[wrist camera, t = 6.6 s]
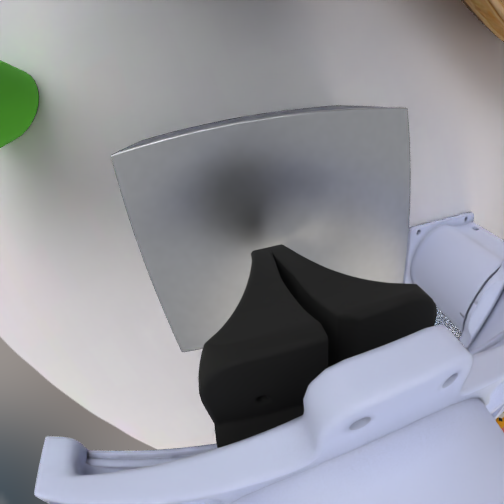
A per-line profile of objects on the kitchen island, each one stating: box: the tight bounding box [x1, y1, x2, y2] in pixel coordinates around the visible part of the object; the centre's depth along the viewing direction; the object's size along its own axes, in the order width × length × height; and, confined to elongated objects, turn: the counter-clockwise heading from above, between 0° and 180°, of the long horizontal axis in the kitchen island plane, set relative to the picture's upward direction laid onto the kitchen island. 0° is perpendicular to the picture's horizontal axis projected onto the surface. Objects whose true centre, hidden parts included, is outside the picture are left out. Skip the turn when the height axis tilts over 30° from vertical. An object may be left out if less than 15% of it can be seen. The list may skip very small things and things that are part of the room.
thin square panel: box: [111, 107, 410, 352], centre depth 15 cm, size 14×12×1 cm
